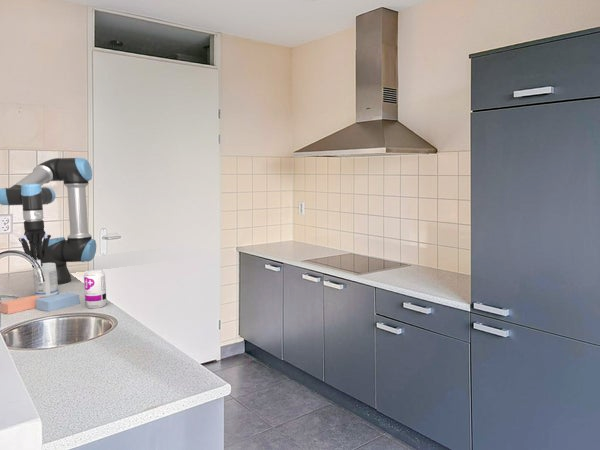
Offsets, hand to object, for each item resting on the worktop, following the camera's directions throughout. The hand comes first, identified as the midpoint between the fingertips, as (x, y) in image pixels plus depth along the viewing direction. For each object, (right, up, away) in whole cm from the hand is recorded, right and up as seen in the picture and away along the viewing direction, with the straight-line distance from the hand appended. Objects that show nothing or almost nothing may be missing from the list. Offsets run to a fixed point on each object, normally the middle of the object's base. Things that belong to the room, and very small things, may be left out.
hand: (38, 274), depth 207 cm
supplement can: (+26, -13, -3) cm, 29 cm away
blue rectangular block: (+10, -13, -2) cm, 17 cm away
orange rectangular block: (-4, -14, -5) cm, 15 cm away
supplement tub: (-6, -12, +18) cm, 22 cm away
